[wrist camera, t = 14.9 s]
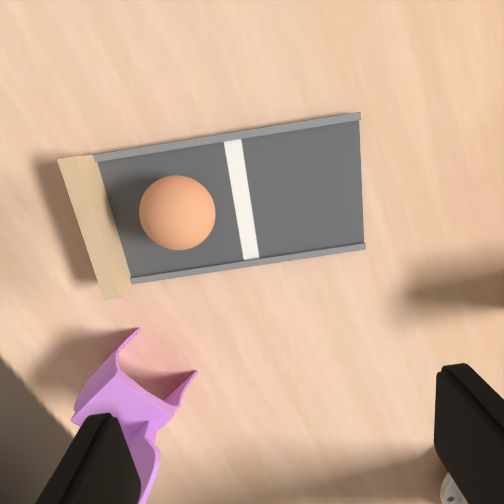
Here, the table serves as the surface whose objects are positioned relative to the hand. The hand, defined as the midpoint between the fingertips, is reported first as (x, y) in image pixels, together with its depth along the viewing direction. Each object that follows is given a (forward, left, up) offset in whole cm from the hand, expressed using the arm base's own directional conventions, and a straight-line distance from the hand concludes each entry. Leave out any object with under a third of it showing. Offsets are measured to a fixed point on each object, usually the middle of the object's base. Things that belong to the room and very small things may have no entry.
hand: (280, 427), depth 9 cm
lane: (+2, -3, -22) cm, 23 cm away
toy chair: (+14, +13, -23) cm, 30 cm away
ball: (+6, -4, -16) cm, 17 cm away
